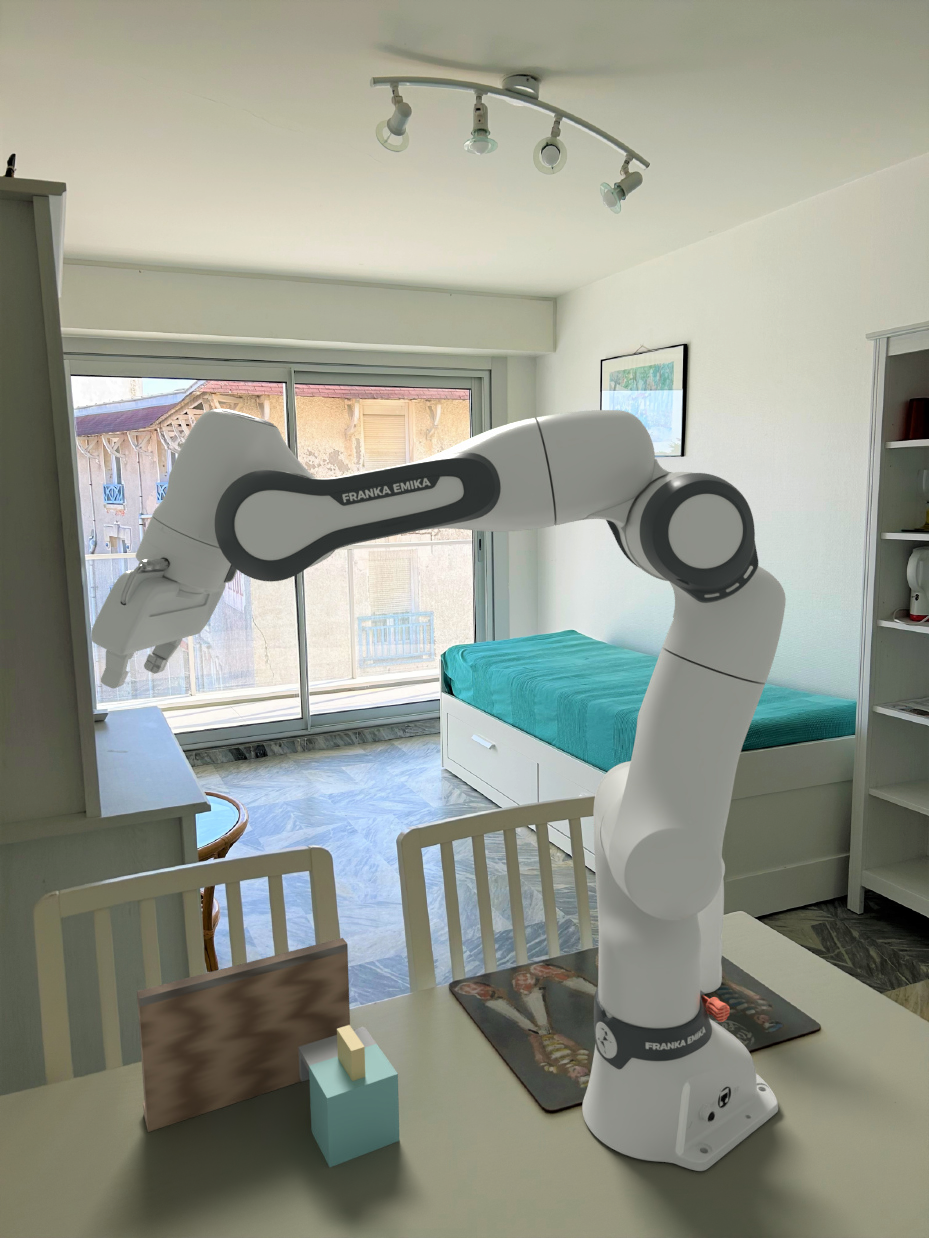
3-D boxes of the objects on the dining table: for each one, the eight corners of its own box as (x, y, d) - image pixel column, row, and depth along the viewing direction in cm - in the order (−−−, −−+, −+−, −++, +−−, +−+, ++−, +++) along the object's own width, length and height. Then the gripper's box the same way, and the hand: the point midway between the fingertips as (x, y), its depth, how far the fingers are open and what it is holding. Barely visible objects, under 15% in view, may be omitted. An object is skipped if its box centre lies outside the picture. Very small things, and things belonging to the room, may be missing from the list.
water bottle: (723, 998, 122) (729, 826, 119) (671, 993, 124) (675, 823, 120) (719, 971, 129) (724, 808, 125) (670, 966, 130) (673, 805, 127)
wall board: (342, 1049, 112) (338, 931, 110) (351, 1064, 109) (347, 943, 107) (143, 1113, 101) (134, 983, 98) (148, 1131, 98) (138, 998, 95)
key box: (366, 1088, 105) (363, 998, 103) (399, 1140, 96) (397, 1043, 94) (301, 1110, 101) (297, 1018, 99) (329, 1167, 92) (325, 1067, 91)
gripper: (168, 575, 80) (111, 710, 82) (244, 567, 100) (197, 675, 102) (107, 545, 80) (51, 680, 82) (195, 543, 100) (148, 651, 102)
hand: (132, 677), depth 92 cm, fingers open, 8 cm apart
